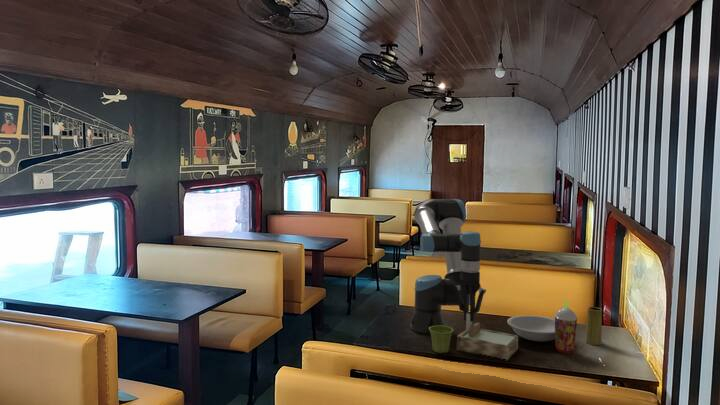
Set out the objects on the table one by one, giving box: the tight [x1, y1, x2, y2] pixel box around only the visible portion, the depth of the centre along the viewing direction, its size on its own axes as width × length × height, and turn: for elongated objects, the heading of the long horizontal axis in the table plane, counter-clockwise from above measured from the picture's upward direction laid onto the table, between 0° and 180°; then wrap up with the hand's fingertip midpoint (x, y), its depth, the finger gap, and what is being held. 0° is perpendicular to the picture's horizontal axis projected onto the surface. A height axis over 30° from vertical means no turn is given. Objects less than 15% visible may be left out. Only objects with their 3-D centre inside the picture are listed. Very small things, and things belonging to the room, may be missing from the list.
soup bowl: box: [506, 314, 555, 342], centre depth 218 cm, size 24×24×7 cm
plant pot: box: [429, 325, 454, 354], centre depth 203 cm, size 9×9×9 cm
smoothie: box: [553, 300, 578, 355], centre depth 203 cm, size 8×8×20 cm
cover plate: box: [464, 322, 515, 346], centre depth 204 cm, size 17×12×5 cm
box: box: [456, 328, 519, 361], centre depth 205 cm, size 20×14×6 cm
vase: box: [585, 306, 603, 346], centre depth 213 cm, size 6×6×14 cm
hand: (469, 328), depth 208 cm, fingers closed
